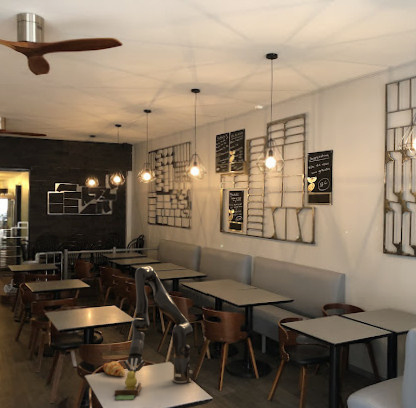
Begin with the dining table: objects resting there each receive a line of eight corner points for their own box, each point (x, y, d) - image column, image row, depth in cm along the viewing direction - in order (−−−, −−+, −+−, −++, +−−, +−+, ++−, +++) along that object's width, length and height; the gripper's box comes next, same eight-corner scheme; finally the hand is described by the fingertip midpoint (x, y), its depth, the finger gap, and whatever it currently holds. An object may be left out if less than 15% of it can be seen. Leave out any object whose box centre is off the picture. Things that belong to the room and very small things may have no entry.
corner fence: (140, 387, 255) (140, 382, 255) (137, 395, 244) (137, 390, 244) (118, 388, 254) (118, 382, 254) (114, 395, 243) (114, 390, 243)
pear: (137, 385, 258) (137, 366, 258) (135, 390, 252) (136, 370, 252) (126, 385, 257) (126, 366, 257) (124, 390, 251) (124, 370, 251)
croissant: (127, 381, 272) (133, 368, 275) (115, 378, 265) (121, 364, 268) (107, 372, 286) (112, 359, 288) (94, 368, 279) (100, 355, 281)
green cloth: (134, 396, 244) (134, 394, 244) (132, 399, 239) (133, 398, 239) (117, 396, 243) (117, 395, 243) (115, 400, 238) (115, 399, 238)
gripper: (124, 345, 267) (119, 374, 255) (147, 346, 268) (143, 374, 255) (126, 351, 272) (121, 380, 260) (148, 352, 273) (144, 380, 261)
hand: (132, 377), depth 258 cm, fingers closed
